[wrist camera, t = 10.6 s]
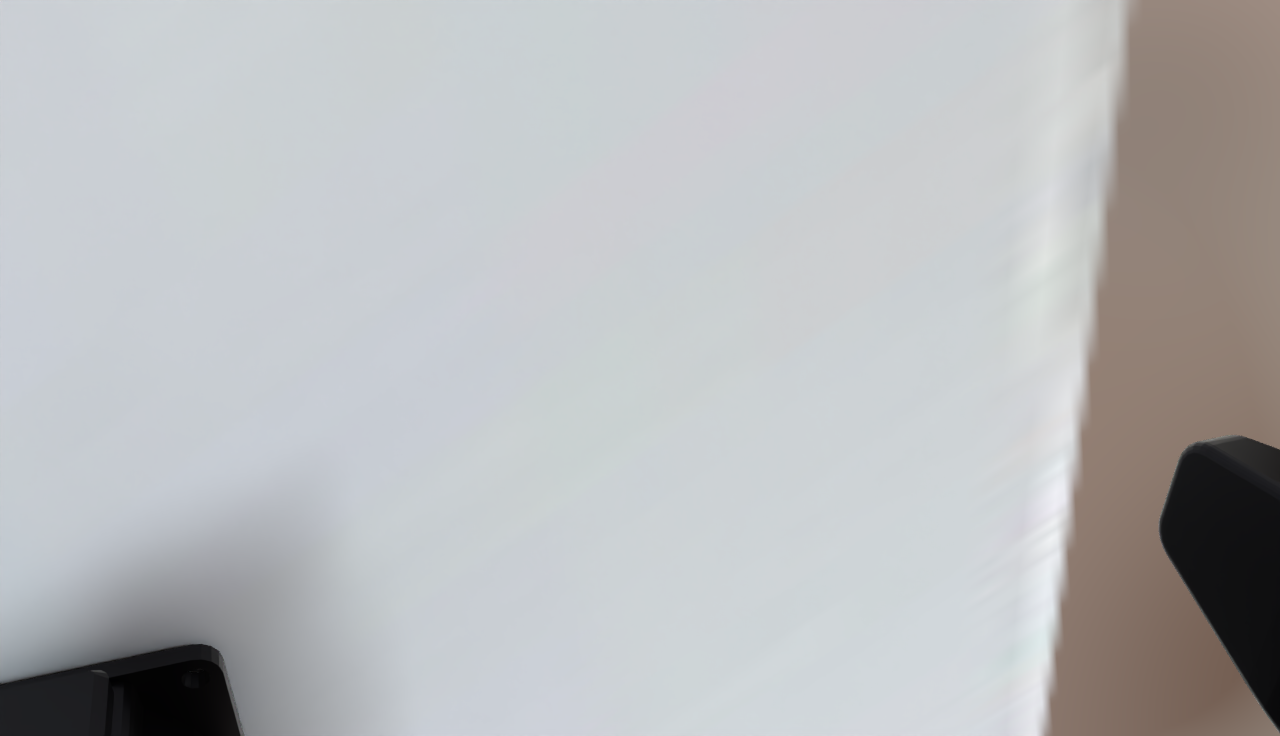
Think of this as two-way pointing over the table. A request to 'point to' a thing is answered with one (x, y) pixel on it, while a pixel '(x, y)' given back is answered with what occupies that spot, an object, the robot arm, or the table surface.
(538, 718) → the table surface
